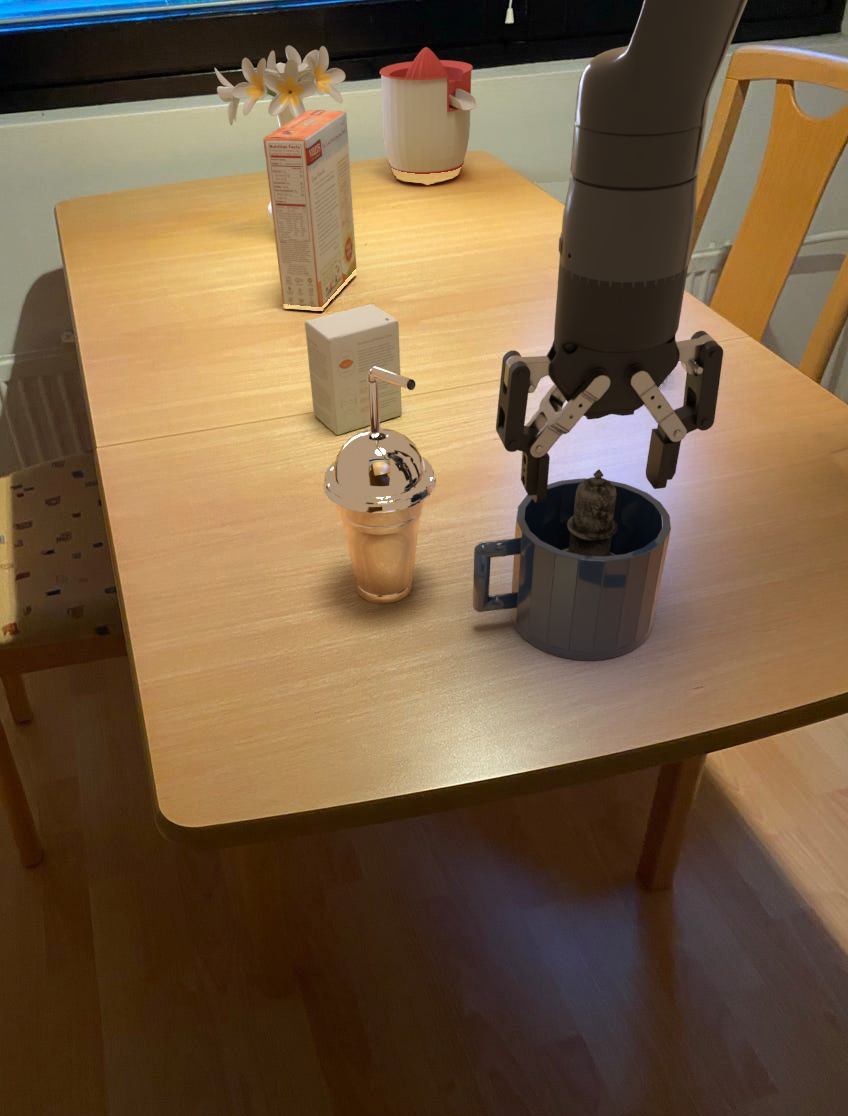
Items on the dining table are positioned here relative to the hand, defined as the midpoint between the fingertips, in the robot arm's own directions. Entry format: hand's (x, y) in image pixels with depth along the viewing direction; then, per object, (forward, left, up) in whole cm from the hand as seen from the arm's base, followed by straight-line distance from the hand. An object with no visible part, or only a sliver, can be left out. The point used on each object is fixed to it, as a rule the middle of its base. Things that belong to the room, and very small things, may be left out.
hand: (596, 489), depth 68 cm
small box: (+13, -37, -11) cm, 41 cm away
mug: (+2, 0, -11) cm, 11 cm away
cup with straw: (+15, -6, -11) cm, 20 cm away
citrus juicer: (-11, -125, -11) cm, 126 cm away
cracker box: (+14, -74, -11) cm, 76 cm away
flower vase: (+15, -99, -11) cm, 101 cm away
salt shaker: (0, 0, -11) cm, 11 cm away
